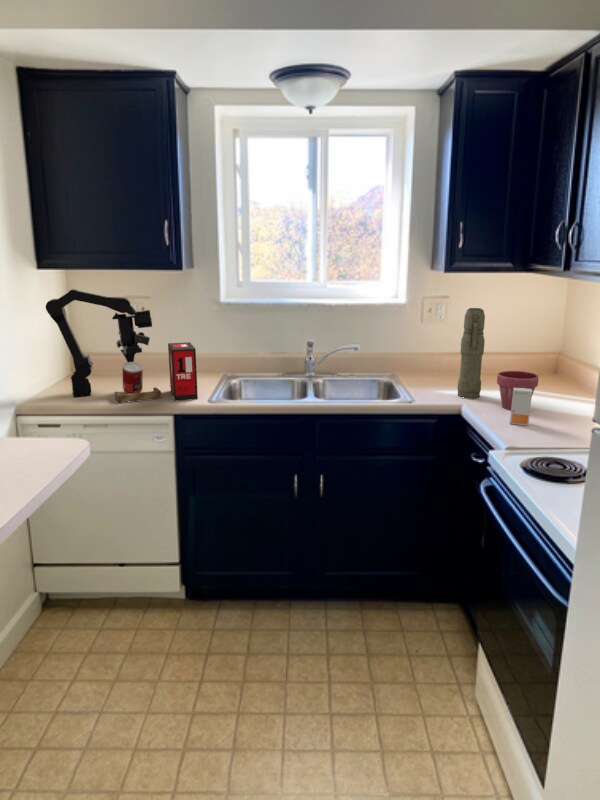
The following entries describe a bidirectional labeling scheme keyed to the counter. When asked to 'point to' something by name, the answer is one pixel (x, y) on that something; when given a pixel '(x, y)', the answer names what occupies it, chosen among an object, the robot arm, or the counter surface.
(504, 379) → the plant pot
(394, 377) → the counter surface
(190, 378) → the cleaning product box
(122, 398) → the tan bone-shaped block
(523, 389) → the skincare box
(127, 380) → the canned food
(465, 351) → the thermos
